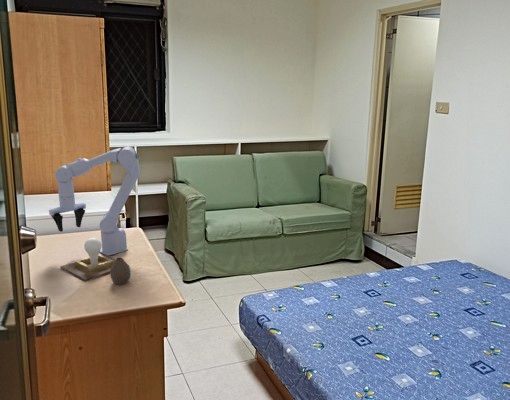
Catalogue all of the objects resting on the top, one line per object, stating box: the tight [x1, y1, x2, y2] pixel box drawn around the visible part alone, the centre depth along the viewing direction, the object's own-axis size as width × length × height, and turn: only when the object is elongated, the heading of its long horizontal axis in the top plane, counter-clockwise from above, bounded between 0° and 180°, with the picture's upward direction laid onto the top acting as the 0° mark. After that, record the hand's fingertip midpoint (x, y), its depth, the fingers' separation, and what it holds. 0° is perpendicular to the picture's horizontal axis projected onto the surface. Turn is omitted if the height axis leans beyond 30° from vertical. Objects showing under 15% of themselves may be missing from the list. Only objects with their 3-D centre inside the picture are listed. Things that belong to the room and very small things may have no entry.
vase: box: [109, 257, 131, 286], centre depth 172 cm, size 7×7×9 cm
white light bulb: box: [83, 237, 102, 265], centre depth 184 cm, size 6×6×11 cm
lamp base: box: [59, 253, 117, 282], centre depth 186 cm, size 18×18×1 cm
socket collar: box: [74, 253, 114, 273], centre depth 186 cm, size 10×10×2 cm
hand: (69, 228), depth 199 cm, fingers open, 7 cm apart
